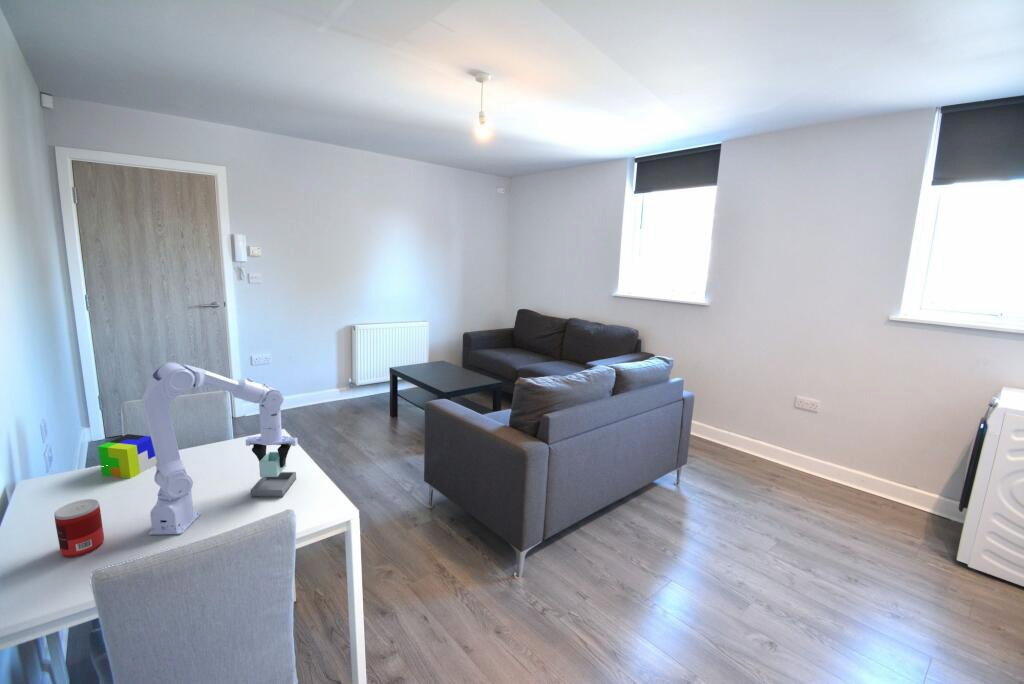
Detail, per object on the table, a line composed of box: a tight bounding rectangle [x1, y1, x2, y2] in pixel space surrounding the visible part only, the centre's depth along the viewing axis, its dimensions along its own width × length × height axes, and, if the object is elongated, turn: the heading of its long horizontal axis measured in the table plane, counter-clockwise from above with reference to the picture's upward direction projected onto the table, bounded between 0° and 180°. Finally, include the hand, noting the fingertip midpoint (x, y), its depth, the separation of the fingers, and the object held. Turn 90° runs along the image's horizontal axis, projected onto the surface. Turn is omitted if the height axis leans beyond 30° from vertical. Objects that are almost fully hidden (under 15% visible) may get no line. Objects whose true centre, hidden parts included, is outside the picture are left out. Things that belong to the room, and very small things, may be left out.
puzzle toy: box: [97, 433, 157, 479], centre depth 147 cm, size 10×10×10 cm
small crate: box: [258, 451, 287, 478], centre depth 140 cm, size 5×7×5 cm
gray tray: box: [250, 471, 297, 498], centre depth 141 cm, size 9×11×2 cm
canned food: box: [54, 498, 105, 558], centre depth 110 cm, size 8×8×11 cm
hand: (273, 466), depth 140 cm, fingers closed on small crate, 5 cm apart
